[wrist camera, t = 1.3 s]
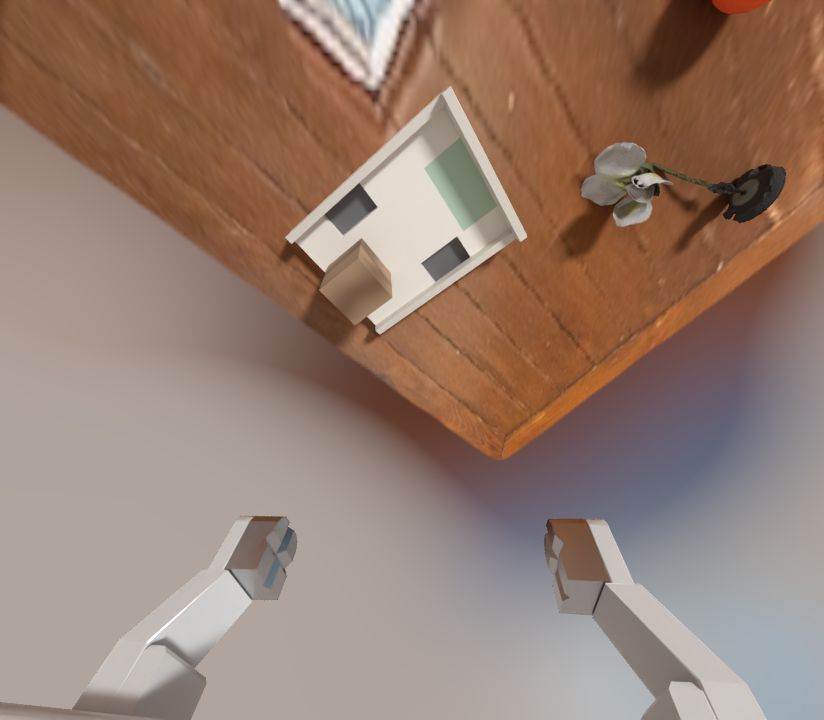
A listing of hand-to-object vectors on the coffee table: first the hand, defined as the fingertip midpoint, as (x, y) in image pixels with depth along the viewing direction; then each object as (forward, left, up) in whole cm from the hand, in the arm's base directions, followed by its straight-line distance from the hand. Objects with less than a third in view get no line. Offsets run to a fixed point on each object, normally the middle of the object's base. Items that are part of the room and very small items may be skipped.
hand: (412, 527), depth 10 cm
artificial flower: (+18, +31, -41) cm, 54 cm away
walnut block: (+2, -7, -39) cm, 39 cm away
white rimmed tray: (+2, +1, -40) cm, 40 cm away
